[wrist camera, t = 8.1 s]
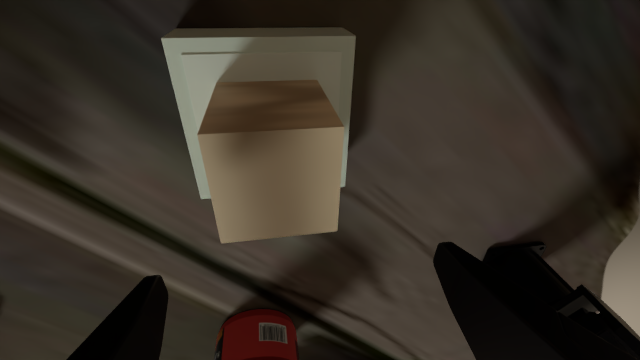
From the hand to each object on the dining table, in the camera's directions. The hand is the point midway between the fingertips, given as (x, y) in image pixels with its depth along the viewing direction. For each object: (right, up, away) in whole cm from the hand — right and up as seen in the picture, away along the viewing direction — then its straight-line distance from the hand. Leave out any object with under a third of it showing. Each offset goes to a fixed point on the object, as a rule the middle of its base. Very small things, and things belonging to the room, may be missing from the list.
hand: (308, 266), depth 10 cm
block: (-2, +6, +7) cm, 9 cm away
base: (-3, +7, +9) cm, 12 cm away
